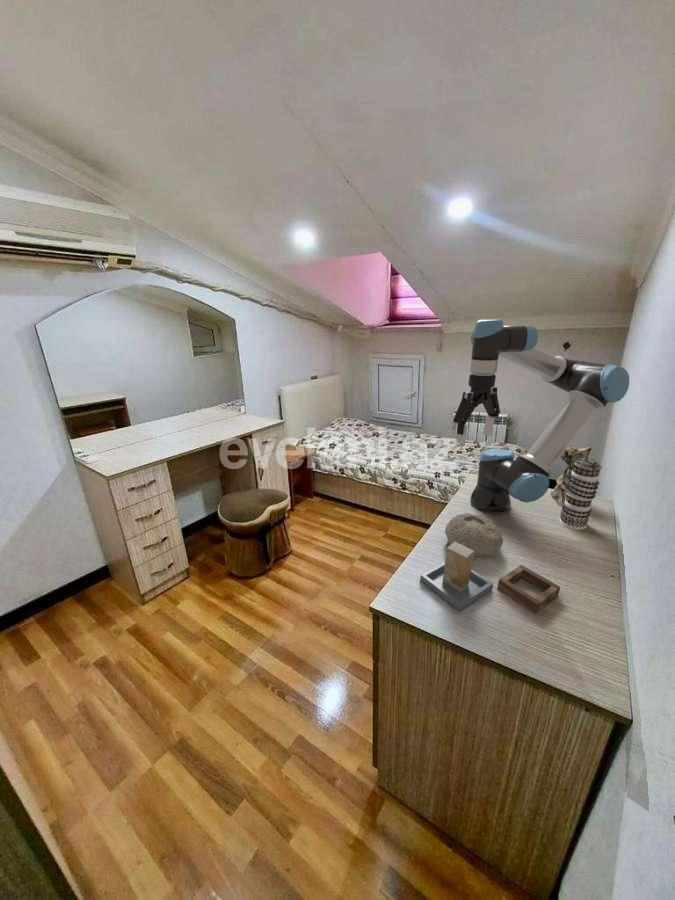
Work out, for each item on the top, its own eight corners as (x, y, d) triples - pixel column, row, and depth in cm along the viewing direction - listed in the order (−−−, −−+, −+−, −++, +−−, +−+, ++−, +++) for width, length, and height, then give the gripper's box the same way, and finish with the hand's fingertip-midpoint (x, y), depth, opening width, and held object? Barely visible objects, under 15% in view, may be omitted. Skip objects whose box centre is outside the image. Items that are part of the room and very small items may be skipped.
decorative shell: (505, 542, 119) (509, 516, 115) (494, 572, 105) (498, 544, 102) (453, 526, 129) (455, 502, 125) (436, 552, 115) (438, 526, 111)
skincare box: (441, 582, 101) (445, 547, 97) (449, 575, 104) (453, 540, 99) (462, 594, 97) (467, 557, 92) (470, 586, 99) (475, 550, 95)
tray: (452, 563, 109) (453, 557, 108) (492, 590, 98) (493, 583, 97) (420, 581, 102) (420, 574, 101) (459, 612, 91) (460, 605, 90)
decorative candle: (552, 516, 133) (566, 455, 124) (577, 516, 133) (593, 455, 124) (567, 530, 124) (582, 466, 116) (593, 530, 124) (611, 465, 115)
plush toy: (583, 513, 133) (598, 449, 128) (543, 503, 142) (556, 442, 137) (588, 507, 143) (603, 447, 138) (550, 497, 152) (563, 441, 147)
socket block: (519, 574, 104) (521, 564, 103) (557, 597, 96) (560, 586, 94) (497, 589, 99) (498, 579, 97) (535, 615, 90) (538, 604, 89)
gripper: (496, 368, 116) (488, 429, 123) (445, 376, 103) (439, 444, 111) (518, 370, 110) (507, 434, 117) (466, 379, 97) (458, 450, 105)
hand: (474, 439), depth 114 cm, fingers open, 13 cm apart
